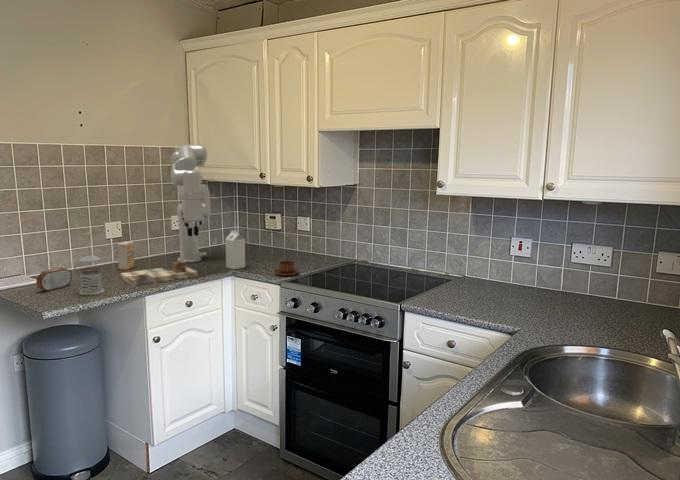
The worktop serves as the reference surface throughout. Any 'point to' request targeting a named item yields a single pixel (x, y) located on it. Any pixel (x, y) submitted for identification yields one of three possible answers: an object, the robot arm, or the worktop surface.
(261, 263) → the worktop surface
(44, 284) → the brown grey rounded block
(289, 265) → the cup and saucer
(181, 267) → the walnut block
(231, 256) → the milk carton
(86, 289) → the french press
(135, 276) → the trap board
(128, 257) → the supplement box
